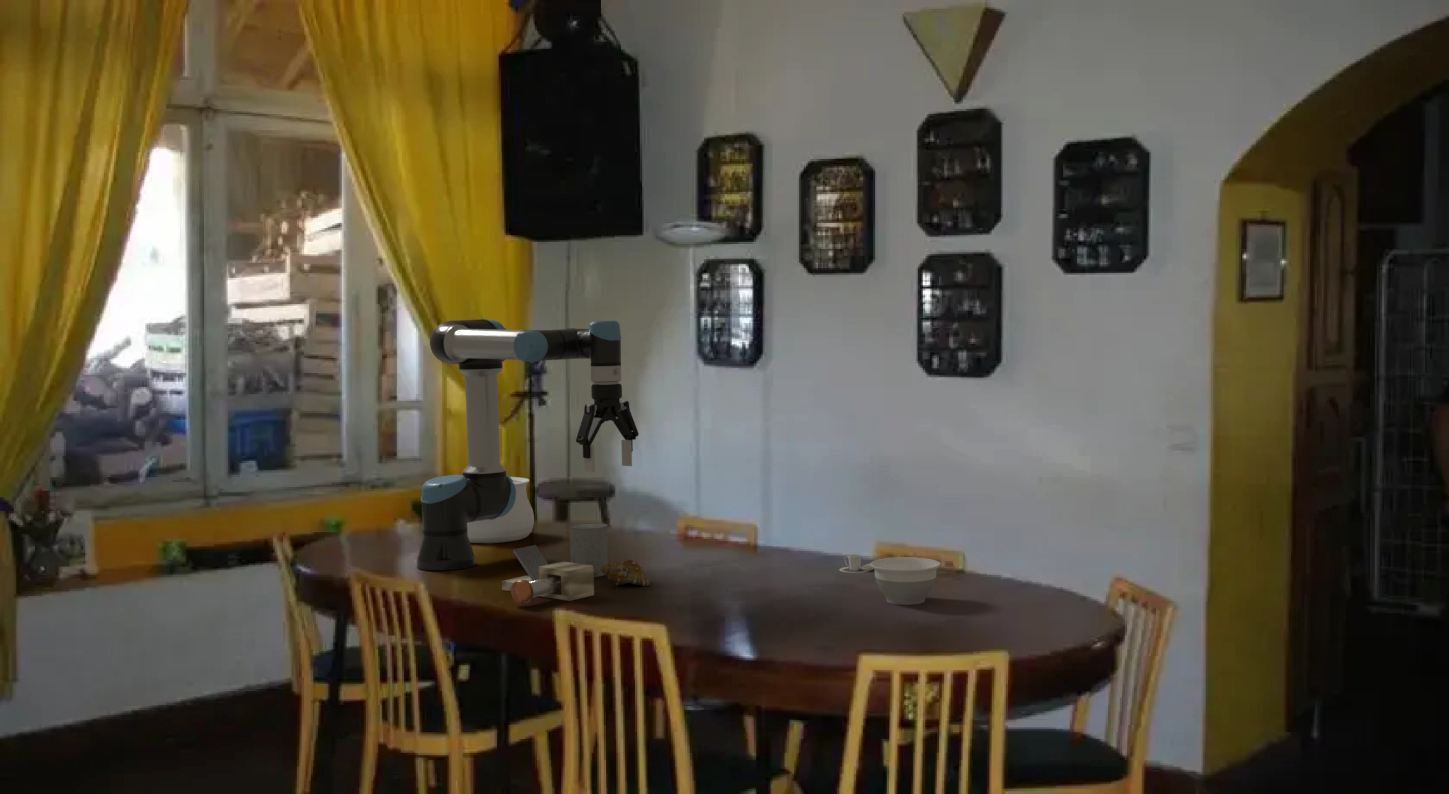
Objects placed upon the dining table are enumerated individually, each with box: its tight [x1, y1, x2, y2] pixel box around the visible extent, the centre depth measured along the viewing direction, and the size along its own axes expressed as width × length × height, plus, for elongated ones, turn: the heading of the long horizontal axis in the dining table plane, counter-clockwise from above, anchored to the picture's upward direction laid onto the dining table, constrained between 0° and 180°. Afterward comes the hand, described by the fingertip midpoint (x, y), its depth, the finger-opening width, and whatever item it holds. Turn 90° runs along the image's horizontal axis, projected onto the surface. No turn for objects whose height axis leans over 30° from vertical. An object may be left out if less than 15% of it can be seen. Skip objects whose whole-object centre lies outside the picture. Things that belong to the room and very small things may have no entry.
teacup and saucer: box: [839, 554, 874, 574], centre depth 367 cm, size 9×8×4 cm
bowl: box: [869, 556, 942, 606], centre depth 329 cm, size 16×16×8 cm
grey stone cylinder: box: [568, 522, 609, 578], centre depth 369 cm, size 10×10×12 cm
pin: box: [510, 576, 561, 605], centre depth 336 cm, size 5×14×5 cm, turn 141°
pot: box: [467, 476, 535, 544], centre depth 429 cm, size 26×24×17 cm
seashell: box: [600, 559, 651, 587], centre depth 354 cm, size 9×8×10 cm
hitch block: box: [501, 561, 595, 602], centre depth 346 cm, size 23×8×7 cm, turn 51°
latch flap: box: [512, 544, 550, 581], centre depth 348 cm, size 11×7×1 cm
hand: (608, 468), depth 360 cm, fingers open, 13 cm apart
